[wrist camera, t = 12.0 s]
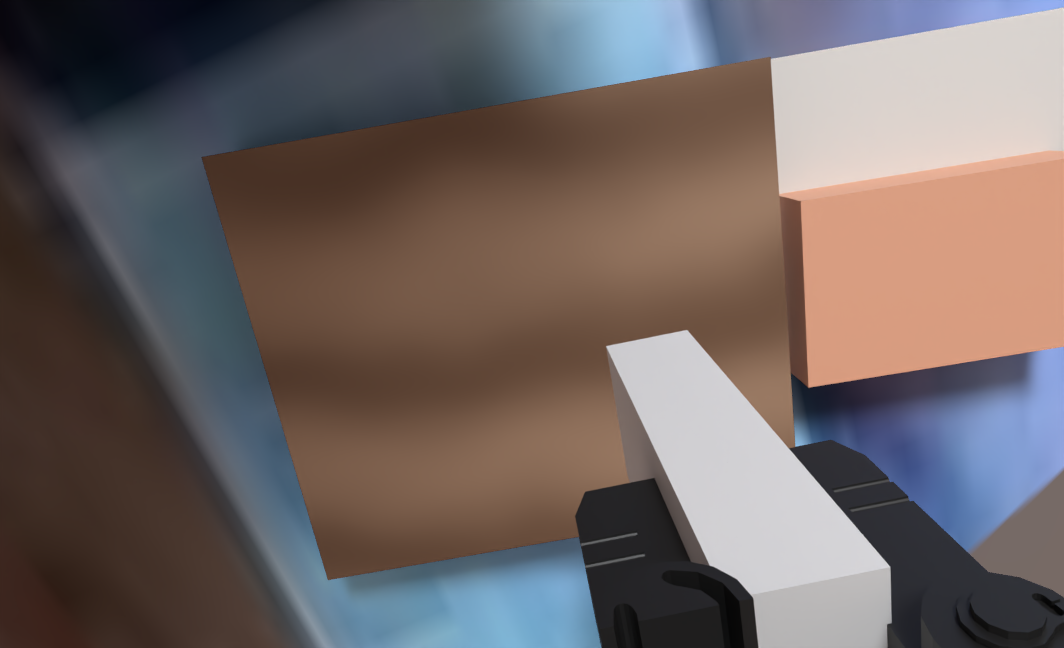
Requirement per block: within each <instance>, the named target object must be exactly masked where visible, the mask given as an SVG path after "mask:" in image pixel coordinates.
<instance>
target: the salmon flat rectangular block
mask: <svg viewBox="0 0 1064 648" xmlns="http://www.w3.org/2000/svg"><path fill="white" fill-rule="evenodd" d="M779 199H780V214H781V230H782V246H783V262H784V277H785V293H786V309H787V325H788V340H789V356H790V372H791V373H792V374H793V375H794V376H795V377H797V378H798V379H799V380H800V381H801V382H803V383H804V384H805V385H806V386H807V387H808V388H809V387H816V386H822V385H828V384H834V383H840V382H847V381H853V380H859V379H865V378H871V377H878V376H884V375H890V374H896V373H903V372H909V371H915V370H921V369H927V368H934V367H940V366H946V365H952V364H959V363H965V362H971V361H977V360H983V359H990V358H996V357H1002V356H1008V355H1014V354H1021V353H1027V352H1033V351H1039V350H1046V349H1052V348H1058V347H1064V151H1051V150H1048V151H1042V152H1036V153H1030V154H1024V155H1018V156H1011V157H1005V158H999V159H993V160H987V161H980V162H974V163H968V164H962V165H956V166H949V167H943V168H937V169H931V170H925V171H918V172H912V173H906V174H900V175H894V176H887V177H881V178H875V179H869V180H863V181H856V182H850V183H844V184H838V185H832V186H825V187H819V188H813V189H807V190H801V191H794V192H788V193H782V194H779Z"/></svg>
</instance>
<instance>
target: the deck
mask: <svg viewBox="0 0 1064 648" xmlns="http://www.w3.org/2000/svg"><path fill="white" fill-rule="evenodd" d="M202 160H203V164H204V167H205V170H206V174H207V177H208V180H209V184H210V187H211V191H212V194H213V197H214V201H215V204H216V207H217V211H218V214H219V217H220V221H221V224H222V227H223V231H224V234H225V237H226V241H227V244H228V247H229V251H230V254H231V257H232V261H233V264H234V267H235V271H236V274H237V277H238V281H239V284H240V287H241V291H242V294H243V297H244V301H245V304H246V307H247V311H248V314H249V317H250V321H251V324H252V327H253V331H254V334H255V338H256V341H257V344H258V348H259V351H260V354H261V358H262V361H263V364H264V368H265V371H266V374H267V378H268V381H269V384H270V388H271V391H272V394H273V398H274V401H275V404H276V408H277V411H278V414H279V418H280V421H281V424H282V428H283V431H284V434H285V438H286V441H287V444H288V448H289V451H290V454H291V458H292V461H293V464H294V468H295V471H296V474H297V478H298V481H299V485H300V488H301V491H302V495H303V498H304V501H305V505H306V508H307V511H308V515H309V518H310V521H311V525H312V528H313V531H314V535H315V538H316V541H317V545H318V548H319V551H320V555H321V558H322V561H323V565H324V568H325V571H326V575H327V578H328V580H331V579H337V578H343V577H348V576H354V575H360V574H366V573H372V572H377V571H383V570H389V569H395V568H401V567H406V566H412V565H418V564H424V563H430V562H435V561H441V560H447V559H453V558H459V557H464V556H470V555H476V554H482V553H488V552H493V551H499V550H505V549H511V548H517V547H522V546H528V545H534V544H540V543H546V542H551V541H557V540H563V539H569V538H575V537H579V534H578V529H577V524H576V519H575V515H576V512H577V510H578V508H579V505H580V503H581V500H582V498H583V495H584V493H585V492H586V491H591V490H596V489H601V488H606V487H611V486H616V485H621V484H626V483H630V481H629V478H628V475H627V470H626V464H625V458H624V452H623V446H622V440H621V434H620V428H619V422H618V416H617V409H616V403H615V397H614V391H613V385H612V379H611V373H610V367H609V361H608V355H607V349H606V346H610V345H615V344H620V343H625V342H630V341H635V340H639V339H644V338H649V337H654V336H659V335H664V334H669V333H674V332H679V331H684V330H688V332H689V333H690V334H691V335H692V336H693V337H694V339H695V340H696V341H697V342H698V343H699V344H700V346H701V347H702V348H703V349H704V350H705V351H706V353H707V354H708V355H709V356H710V357H711V358H712V360H713V361H714V362H715V363H716V364H717V365H718V367H719V368H720V369H721V370H722V371H723V372H724V374H725V375H726V376H727V377H728V378H729V379H730V381H731V382H732V383H733V384H734V385H735V386H736V388H737V389H738V390H739V391H740V392H741V393H742V395H743V396H744V397H745V398H746V399H747V400H748V402H749V403H750V404H751V405H752V406H753V407H754V409H755V410H756V411H757V412H758V413H759V414H760V416H761V417H762V418H763V419H764V420H765V421H766V423H767V424H768V425H769V426H770V427H771V428H772V430H773V431H774V432H775V433H776V434H777V435H778V437H779V438H780V439H781V440H782V441H783V442H784V444H785V445H786V446H787V447H788V448H793V447H795V435H794V419H793V403H792V388H791V372H790V356H789V340H788V325H787V309H786V293H785V277H784V262H783V246H782V230H781V214H780V199H779V183H778V167H777V151H776V135H775V120H774V104H773V88H772V72H771V57H767V58H762V59H756V60H750V61H745V62H739V63H733V64H728V65H722V66H716V67H711V68H705V69H699V70H694V71H688V72H682V73H677V74H671V75H665V76H660V77H654V78H648V79H642V80H637V81H631V82H625V83H620V84H614V85H608V86H603V87H597V88H591V89H586V90H580V91H574V92H569V93H563V94H557V95H552V96H546V97H540V98H535V99H529V100H523V101H518V102H512V103H506V104H500V105H495V106H489V107H483V108H478V109H472V110H466V111H461V112H455V113H449V114H444V115H438V116H432V117H427V118H421V119H415V120H410V121H404V122H398V123H393V124H387V125H381V126H376V127H370V128H364V129H358V130H353V131H347V132H341V133H336V134H330V135H324V136H319V137H313V138H307V139H302V140H296V141H290V142H285V143H279V144H273V145H268V146H262V147H256V148H251V149H245V150H239V151H234V152H228V153H222V154H216V155H211V156H205V157H202Z"/></svg>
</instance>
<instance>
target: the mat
mask: <svg viewBox="0 0 1064 648" xmlns="http://www.w3.org/2000/svg"><path fill="white" fill-rule="evenodd" d="M771 72H772V88H773V104H774V120H775V135H776V151H777V167H778V183H779V194H782V193H788V192H794V191H801V190H807V189H813V188H819V187H825V186H832V185H838V184H844V183H850V182H856V181H863V180H869V179H875V178H881V177H887V176H894V175H900V174H906V173H912V172H918V171H925V170H931V169H937V168H943V167H949V166H956V165H962V164H968V163H974V162H980V161H987V160H993V159H999V158H1005V157H1011V156H1018V155H1024V154H1030V153H1036V152H1042V151H1048V150H1051V151H1064V8H1058V9H1053V10H1047V11H1041V12H1036V13H1030V14H1024V15H1019V16H1013V17H1007V18H1002V19H996V20H990V21H985V22H979V23H973V24H968V25H962V26H956V27H951V28H945V29H939V30H934V31H928V32H922V33H916V34H911V35H905V36H899V37H894V38H888V39H882V40H877V41H871V42H865V43H860V44H854V45H848V46H843V47H837V48H831V49H826V50H820V51H814V52H809V53H803V54H797V55H791V56H786V57H780V58H774V59H771Z"/></svg>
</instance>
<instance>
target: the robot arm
mask: <svg viewBox="0 0 1064 648" xmlns="http://www.w3.org/2000/svg"><path fill="white" fill-rule="evenodd" d="M606 349H607V355H608V361H609V367H610V373H611V379H612V385H613V391H614V397H615V403H616V409H617V416H618V422H619V428H620V434H621V440H622V446H623V452H624V458H625V464H626V470H627V475H628V478H629V481H630V483H626V484H621V485H616V486H611V487H606V488H601V489H596V490H591V491H586V492H585V493H584V495H583V498H582V500H581V503H580V505H579V508H578V510H577V512H576V515H575V519H576V524H577V529H578V534H579V539H580V544H581V549H582V554H583V559H584V564H585V569H586V574H587V579H588V584H589V589H590V594H591V599H592V604H593V609H594V614H595V618H596V623H597V628H598V633H599V638H600V643H601V648H1064V598H1063V597H1062V596H1061V595H1059V594H1057V593H1056V592H1054V591H1053V590H1050V589H1048V588H1045V587H1043V586H1040V585H1038V584H1035V583H1032V582H1030V581H1027V580H1025V579H1022V578H1019V577H1013V576H1008V575H1002V574H996V573H990V572H988V571H987V570H985V569H984V568H983V567H982V566H981V565H980V564H979V563H978V562H977V561H976V560H975V559H974V558H973V557H972V556H971V555H970V554H969V553H968V552H966V551H965V550H964V549H963V548H962V547H961V546H960V545H959V544H958V543H957V542H956V541H955V540H954V539H953V538H952V537H951V536H950V535H949V534H947V533H946V532H945V531H944V530H943V529H942V528H941V527H940V526H939V525H938V524H937V523H936V522H935V521H934V520H933V519H932V518H931V517H930V516H929V515H927V514H926V513H925V512H924V511H923V510H922V509H921V508H920V507H919V506H918V505H917V504H916V503H915V502H914V501H909V499H908V496H907V495H906V494H905V493H904V492H903V491H902V490H901V489H900V488H899V487H898V486H897V485H896V484H895V483H894V482H889V479H888V477H887V476H886V475H885V474H884V473H883V472H882V471H881V470H880V469H879V468H878V467H877V466H876V465H875V464H874V463H873V462H872V461H870V460H869V459H868V458H867V457H866V456H865V455H863V454H861V453H859V452H857V451H854V450H852V449H850V448H848V447H846V446H843V445H841V444H839V443H837V442H835V441H833V440H828V441H823V442H818V443H813V444H808V445H803V446H798V447H793V448H788V447H787V446H786V445H785V444H784V442H783V441H782V440H781V439H780V438H779V437H778V435H777V434H776V433H775V432H774V431H773V430H772V428H771V427H770V426H769V425H768V424H767V423H766V421H765V420H764V419H763V418H762V417H761V416H760V414H759V413H758V412H757V411H756V410H755V409H754V407H753V406H752V405H751V404H750V403H749V402H748V400H747V399H746V398H745V397H744V396H743V395H742V393H741V392H740V391H739V390H738V389H737V388H736V386H735V385H734V384H733V383H732V382H731V381H730V379H729V378H728V377H727V376H726V375H725V374H724V372H723V371H722V370H721V369H720V368H719V367H718V365H717V364H716V363H715V362H714V361H713V360H712V358H711V357H710V356H709V355H708V354H707V353H706V351H705V350H704V349H703V348H702V347H701V346H700V344H699V343H698V342H697V341H696V340H695V339H694V337H693V336H692V335H691V334H690V333H689V332H688V330H684V331H679V332H674V333H669V334H664V335H659V336H654V337H649V338H644V339H639V340H635V341H630V342H625V343H620V344H615V345H610V346H606Z"/></svg>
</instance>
